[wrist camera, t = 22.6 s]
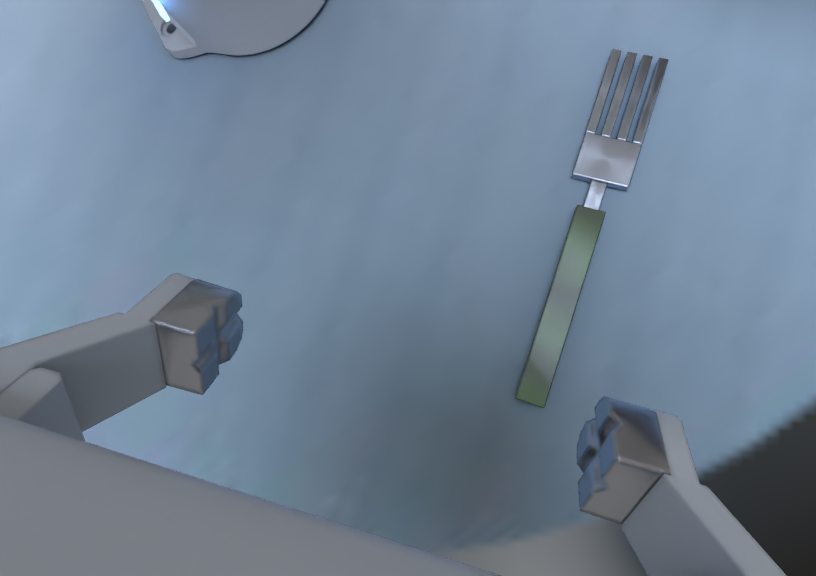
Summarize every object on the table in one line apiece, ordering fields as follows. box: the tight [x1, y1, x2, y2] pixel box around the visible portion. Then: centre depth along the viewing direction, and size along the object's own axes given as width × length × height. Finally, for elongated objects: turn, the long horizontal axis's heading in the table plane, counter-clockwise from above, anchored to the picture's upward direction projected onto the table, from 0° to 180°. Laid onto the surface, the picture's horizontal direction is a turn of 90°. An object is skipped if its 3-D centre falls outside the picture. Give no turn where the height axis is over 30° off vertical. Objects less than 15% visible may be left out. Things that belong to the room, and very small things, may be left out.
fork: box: [516, 49, 668, 408], centre depth 32 cm, size 24×4×1 cm, turn 161°
